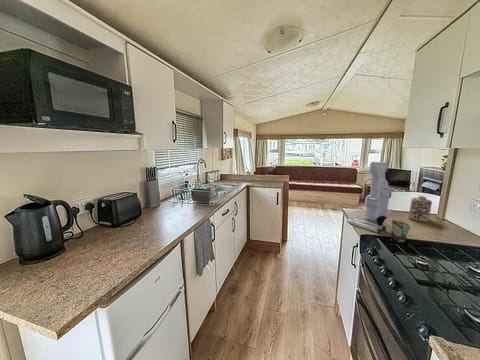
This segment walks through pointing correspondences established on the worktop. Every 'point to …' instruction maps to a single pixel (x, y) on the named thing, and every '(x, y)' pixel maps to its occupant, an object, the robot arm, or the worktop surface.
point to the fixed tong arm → (364, 226)
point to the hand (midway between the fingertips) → (379, 226)
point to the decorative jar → (420, 209)
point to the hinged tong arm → (371, 224)
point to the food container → (399, 230)
